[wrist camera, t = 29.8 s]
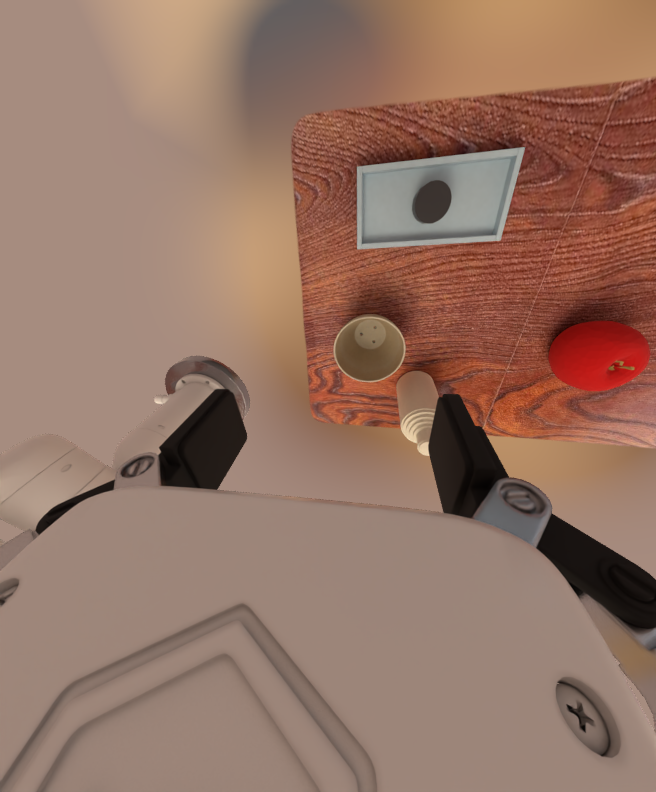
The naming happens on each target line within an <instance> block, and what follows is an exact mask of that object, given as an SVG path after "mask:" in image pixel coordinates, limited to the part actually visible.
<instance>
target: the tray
mask: <svg viewBox="0 0 656 792" xmlns="http://www.w3.org/2000/svg"><path fill="white" fill-rule="evenodd" d="M524 150H525V147H521V148H512V149H504V150H495V151H486V152H478V153H469V154H461V155H452V156H444V157H435V158H427V159H418V160H409V161H401V162H392V163H384V164H375V165H367V166H358V167H357V249H371V248H387V247H404V246H420V245H436V244H452V243H468V242H484V241H500V240H501V236H502V233H503V229H504V225H505V221H506V218H507V214H508V210H509V206H510V203H511V199H512V195H513V191H514V188H515V184H516V180H517V176H518V173H519V169H520V165H521V161H522V157H523V154H524ZM434 180H440V181H443V182H445V183H446V184H447V185H448V186H449V188H450V190H451V195H452V199H451V204H450V207H449V209H448V211H447V213H446V214H445V215H444V217H443V218H441V219H440V220H439V221H437V222H435V223H430V224H425V223H424V224H421V223H420V222H419V221H417V220H416V219H415V217H414V215H413V212H412V204H413V199H414V197H415V195H416V194H417V192H418V191H419V189H420V188H421V187H423V186H425V185H426V184H427V183H429V182H430V181H434Z"/></svg>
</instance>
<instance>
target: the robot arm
mask: <svg viewBox="0 0 656 792" xmlns="http://www.w3.org/2000/svg"><path fill="white" fill-rule="evenodd" d="M154 401H155V402H156V403H158V404H163V405H161V407H159V408H158V409H157V410H156V411H154V412H153V413H152V414H151V415H150V416H149V417H147V418H146V419H145V420H144V421H143V422H141V423H140V424H139V425H138V426H137V427H136V428H134V429H133V430H132V431H130V433H128V434H127V435H126V436H125V437H124V438H123V439H122V440H121V441H120V443H119V444H118V446H117V448H116V451H115V454H114V458H113V465H112V468H111V467H109V466H106V465H105V464H103V463H102V462H100V461H99V460H97V459H96V458H94V457H93V456H91V455H90V454H88V453H87V452H85V451H84V450H82V449H81V448H79V447H78V446H76V445H75V444H73V443H72V442H70V441H68V440H67V439H65V438H62V437H60V436H58V435H53V434H42V435H37V436H34V437H31V438H29V439H27V440H24V441H23V442H21V443H19V444H17V445H15V446H13V447H11V448H10V449H8V450H6V451H5V452H3V453H2V454H0V519H1V520H3V521H5V522H7V523H9V524H11V525H13V526H15V527H17V528H19V529H21V530H23V531H25V532H23V533H22V534H20V535H18V536H17V537H15V538H13V539H12V540H10V541H8V542H5V541H3V540H1V539H0V792H656V580H655V579H654V578H653V577H652V576H651V575H650V574H649V573H647V572H646V571H645V570H643V569H641V568H640V567H639V566H637V565H636V564H634V563H633V562H631V561H629V560H628V559H626V558H624V557H623V556H621V555H619V554H618V553H616V552H614V551H613V550H611V549H610V548H608V547H606V546H605V545H603V544H601V543H599V542H598V541H596V540H595V539H593V538H591V537H590V536H588V535H586V534H585V533H583V532H581V531H580V530H578V529H576V528H575V527H573V526H571V525H570V524H568V523H567V522H565V521H563V520H562V519H560V518H558V517H557V516H555V515H553V514H552V505H551V502H550V500H549V499H548V497H547V496H546V495H545V494H544V493H543V492H542V491H541V490H540V489H539V488H537V487H536V486H534V485H532V484H531V483H529V482H526V481H524V480H521V479H517V478H509V476H508V474H507V473H506V471H505V469H504V467H503V465H502V463H501V462H500V460H499V458H498V456H497V454H496V452H495V450H494V448H493V447H492V445H491V443H490V441H489V439H488V438H487V436H486V434H485V432H484V430H483V429H482V427H480V426H475V424H474V422H473V421H472V419H471V417H470V415H469V413H468V411H467V409H466V407H465V405H464V403H463V401H462V399H461V397H460V395H458V394H444V395H443V397H439V398H438V400H437V405H436V410H435V415H434V419H433V424H432V429H431V434H430V439H429V444H428V450H429V455H430V459H431V463H432V467H433V471H434V475H435V480H436V484H437V488H438V492H439V496H440V500H441V504H442V508H443V512H444V513H441V512H435V511H427V510H419V509H410V508H401V507H393V506H383V505H373V504H363V503H353V502H343V501H333V500H323V499H322V500H321V499H312V498H301V497H291V496H280V495H269V494H257V493H247V492H236V491H224V490H217V489H218V487H219V486H220V484H221V482H222V481H223V479H224V477H225V476H226V474H227V472H228V471H229V469H230V467H231V466H232V464H233V462H234V460H235V459H236V457H237V455H238V454H239V452H240V450H241V449H242V447H243V445H244V443H245V442H246V440H247V433H246V430H245V427H244V424H243V420H242V417H241V414H240V411H239V408H238V405H237V402H236V399H235V395H234V393H233V392H231V391H230V390H229V389H225V388H224V387H223V386H222V385H221V384H220V383H219V382H217V381H216V380H214V379H212V378H210V377H208V376H206V375H202V374H188V375H185V376H184V377H182V378H181V379H180V380H179V381H178V382H177V384H176V388H175V393H173V394H169V395H168V396H166V395H156V396H155V398H154ZM614 657H615V658H616V659H617V660H618V661H619V662H620V664H619V665H618V664H617V662H616V660H615V658H614ZM622 672H623V673H624V674H625V675H626V676H627V677H628V678H629V679H630V680H631V681H632V683H633V684H634V685H635V686H636V688H637V689H638V690H639V691H640V693H641V694H642V696H643V697H644V698H645V700H646V702H647V704H648V706H649V708H650V710H651V712H652V714H653V719H654V725H655V730H653V728H652V726H651V724H650V722H649V720H648V718H647V716H646V715H645V713H644V711H643V709H642V707H641V705H640V704H639V702H638V700H637V698H636V696H635V695H634V693H633V691H632V689H631V687H630V686H629V684H628V682H627V681H626V678H625V676H624V675H623V673H622ZM557 683H560V684H557Z"/></svg>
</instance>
